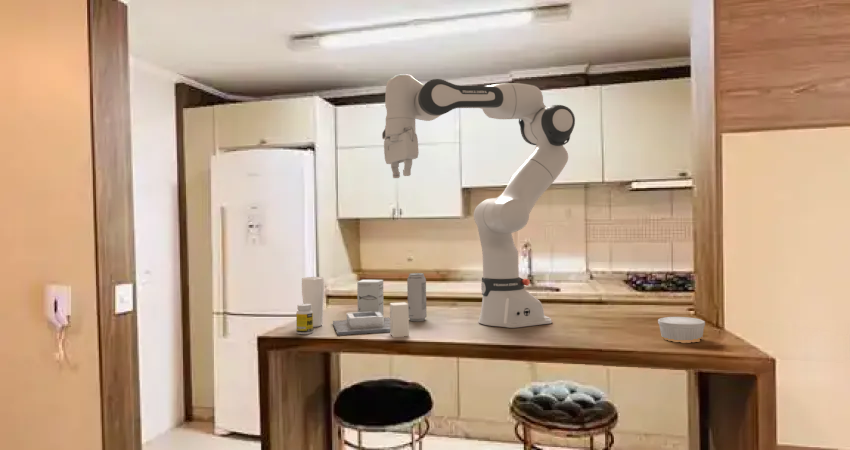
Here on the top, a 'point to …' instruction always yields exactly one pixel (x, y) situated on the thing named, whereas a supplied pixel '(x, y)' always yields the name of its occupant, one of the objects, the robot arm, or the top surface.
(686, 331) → the ramekin
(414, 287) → the energy drink can
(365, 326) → the dock socket
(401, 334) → the small white box
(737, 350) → the top surface
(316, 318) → the drinking glass
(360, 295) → the supplement box
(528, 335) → the top surface
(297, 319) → the supplement bottle
